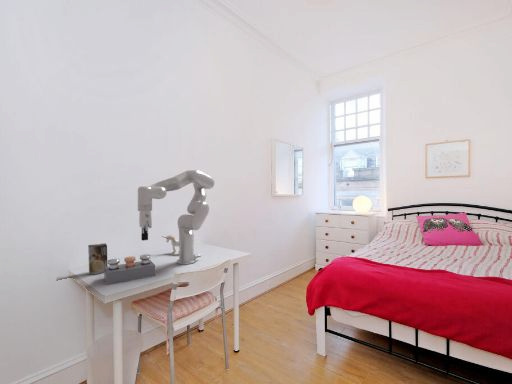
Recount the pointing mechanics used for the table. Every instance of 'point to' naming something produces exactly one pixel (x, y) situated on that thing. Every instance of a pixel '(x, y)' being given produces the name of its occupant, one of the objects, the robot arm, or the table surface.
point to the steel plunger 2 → (145, 259)
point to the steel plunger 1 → (113, 263)
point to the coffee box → (97, 258)
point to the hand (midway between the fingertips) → (144, 239)
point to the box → (129, 272)
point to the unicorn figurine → (174, 242)
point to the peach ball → (129, 261)
